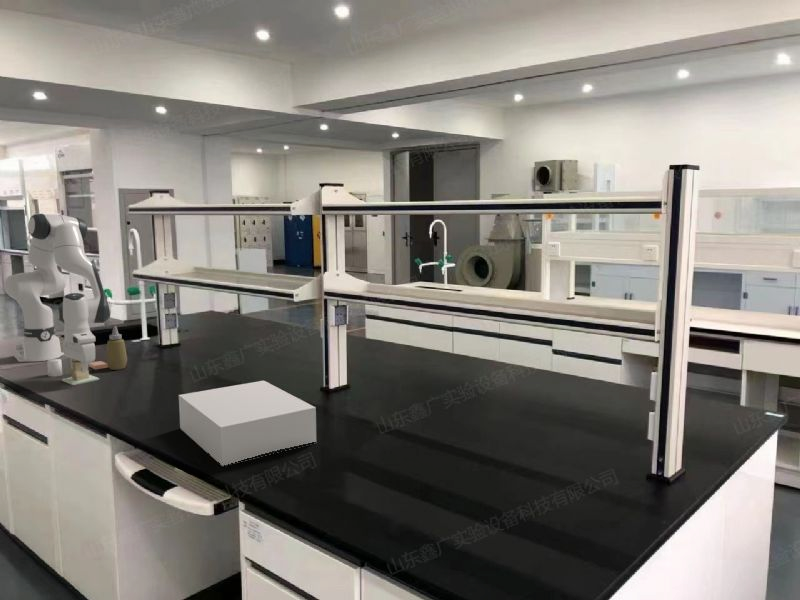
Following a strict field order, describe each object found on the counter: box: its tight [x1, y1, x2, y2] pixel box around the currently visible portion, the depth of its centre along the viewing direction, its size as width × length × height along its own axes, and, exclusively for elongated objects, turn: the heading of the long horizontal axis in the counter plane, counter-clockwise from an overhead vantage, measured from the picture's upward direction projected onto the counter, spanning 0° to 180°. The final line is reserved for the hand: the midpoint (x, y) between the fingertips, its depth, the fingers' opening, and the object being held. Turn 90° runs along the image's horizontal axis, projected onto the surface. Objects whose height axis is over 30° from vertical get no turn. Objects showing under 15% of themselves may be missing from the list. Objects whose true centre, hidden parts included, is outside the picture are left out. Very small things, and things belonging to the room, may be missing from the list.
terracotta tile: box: [88, 360, 109, 371], centre depth 261 cm, size 7×5×2 cm
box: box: [178, 380, 317, 467], centre depth 180 cm, size 28×35×11 cm
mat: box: [61, 374, 100, 386], centre depth 240 cm, size 10×10×1 cm
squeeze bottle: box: [106, 325, 128, 371], centre depth 257 cm, size 8×8×18 cm
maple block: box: [70, 360, 90, 381], centre depth 240 cm, size 4×4×7 cm
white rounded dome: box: [46, 358, 63, 378], centre depth 248 cm, size 5×5×6 cm
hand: (79, 370), depth 240 cm, fingers open, 6 cm apart
